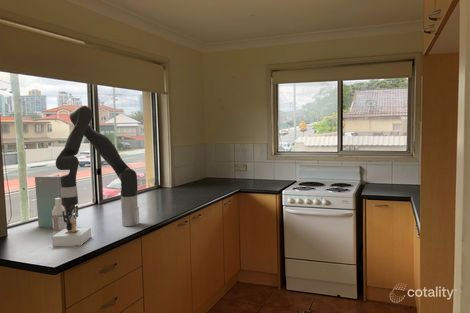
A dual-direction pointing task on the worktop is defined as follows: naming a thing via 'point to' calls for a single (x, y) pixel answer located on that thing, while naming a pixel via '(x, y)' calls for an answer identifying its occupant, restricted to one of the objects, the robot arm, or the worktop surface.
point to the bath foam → (58, 217)
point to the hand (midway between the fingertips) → (71, 228)
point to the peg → (72, 226)
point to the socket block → (71, 237)
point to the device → (47, 197)
